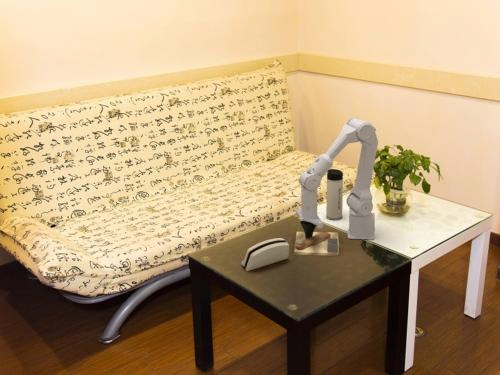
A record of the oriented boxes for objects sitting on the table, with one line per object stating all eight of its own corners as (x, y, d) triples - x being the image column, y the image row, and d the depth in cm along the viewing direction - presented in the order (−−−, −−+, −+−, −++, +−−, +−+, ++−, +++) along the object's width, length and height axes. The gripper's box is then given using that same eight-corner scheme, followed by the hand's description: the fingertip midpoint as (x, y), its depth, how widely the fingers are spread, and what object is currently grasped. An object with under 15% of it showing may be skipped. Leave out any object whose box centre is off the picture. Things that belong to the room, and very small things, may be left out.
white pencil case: (280, 252, 208) (285, 231, 201) (287, 261, 204) (293, 240, 198) (239, 265, 200) (243, 244, 194) (246, 274, 197) (250, 253, 191)
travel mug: (325, 214, 238) (326, 167, 231) (342, 214, 237) (343, 167, 230) (325, 220, 232) (325, 172, 225) (342, 220, 232) (343, 172, 224)
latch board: (338, 234, 219) (338, 232, 219) (339, 255, 204) (339, 253, 203) (296, 234, 221) (296, 231, 221) (294, 254, 206) (294, 252, 205)
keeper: (337, 246, 208) (337, 238, 207) (337, 252, 204) (337, 244, 203) (327, 246, 209) (327, 238, 207) (327, 252, 204) (327, 244, 203)
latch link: (300, 250, 206) (300, 245, 205) (293, 247, 208) (293, 241, 208) (331, 238, 214) (331, 232, 214) (324, 234, 217) (324, 229, 216)
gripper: (288, 200, 212) (288, 234, 217) (311, 213, 200) (311, 249, 205) (304, 196, 215) (304, 230, 220) (328, 209, 204) (327, 244, 208)
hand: (309, 239), depth 213 cm, fingers closed, pressing on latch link
